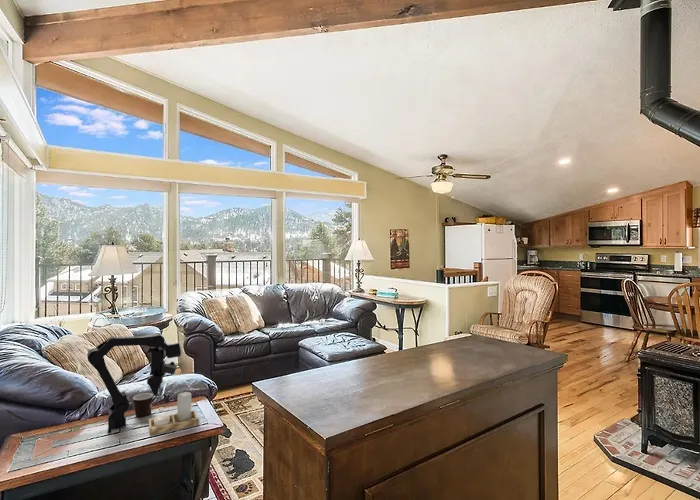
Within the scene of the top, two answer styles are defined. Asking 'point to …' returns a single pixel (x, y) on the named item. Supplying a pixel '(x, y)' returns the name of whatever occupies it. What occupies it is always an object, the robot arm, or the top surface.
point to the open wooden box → (173, 424)
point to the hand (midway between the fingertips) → (157, 392)
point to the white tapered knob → (184, 406)
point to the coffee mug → (143, 404)
